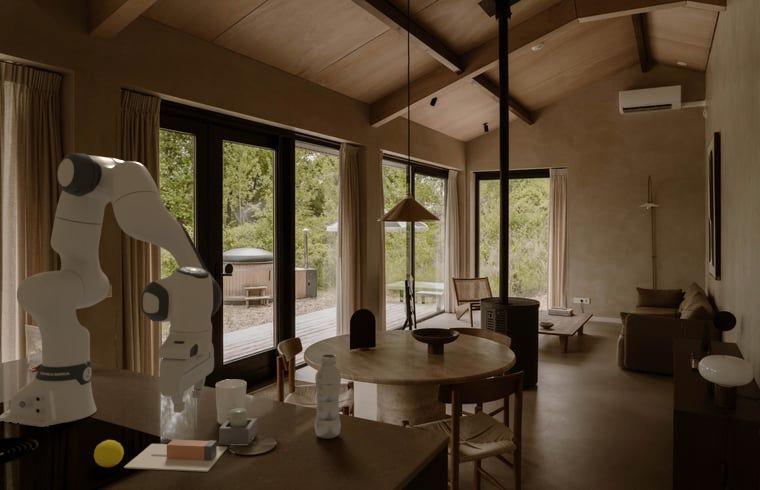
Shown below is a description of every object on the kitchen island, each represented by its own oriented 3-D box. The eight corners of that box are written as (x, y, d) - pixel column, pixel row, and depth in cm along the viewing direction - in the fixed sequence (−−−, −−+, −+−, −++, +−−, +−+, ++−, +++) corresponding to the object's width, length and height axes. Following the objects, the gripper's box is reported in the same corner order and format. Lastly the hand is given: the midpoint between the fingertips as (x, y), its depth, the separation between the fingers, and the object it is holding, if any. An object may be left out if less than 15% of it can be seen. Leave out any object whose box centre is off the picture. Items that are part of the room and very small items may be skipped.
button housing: (219, 445, 124) (219, 428, 124) (229, 433, 131) (229, 417, 131) (248, 446, 124) (248, 429, 123) (256, 434, 131) (257, 418, 130)
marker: (166, 458, 115) (166, 444, 115) (172, 452, 119) (172, 438, 118) (211, 460, 115) (211, 446, 115) (216, 454, 118) (216, 440, 118)
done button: (227, 434, 125) (227, 413, 125) (233, 428, 129) (233, 407, 129) (244, 435, 125) (244, 414, 125) (249, 428, 129) (249, 408, 129)
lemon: (129, 465, 114) (132, 441, 113) (107, 476, 109) (110, 451, 108) (106, 455, 116) (109, 431, 116) (84, 465, 112) (86, 440, 111)
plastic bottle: (320, 443, 126) (321, 360, 125) (310, 433, 132) (311, 354, 131) (344, 439, 129) (346, 358, 128) (334, 429, 135) (335, 352, 134)
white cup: (237, 427, 135) (238, 388, 135) (209, 424, 137) (209, 386, 136) (251, 417, 143) (251, 380, 142) (224, 414, 144) (224, 378, 144)
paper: (124, 468, 111) (124, 466, 111) (151, 444, 123) (151, 443, 123) (207, 471, 110) (207, 470, 110) (227, 448, 122) (227, 446, 122)
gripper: (196, 331, 126) (194, 388, 127) (154, 351, 106) (152, 419, 106) (221, 333, 126) (219, 390, 126) (184, 353, 105) (182, 421, 106)
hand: (188, 403), depth 116 cm, fingers open, 8 cm apart
